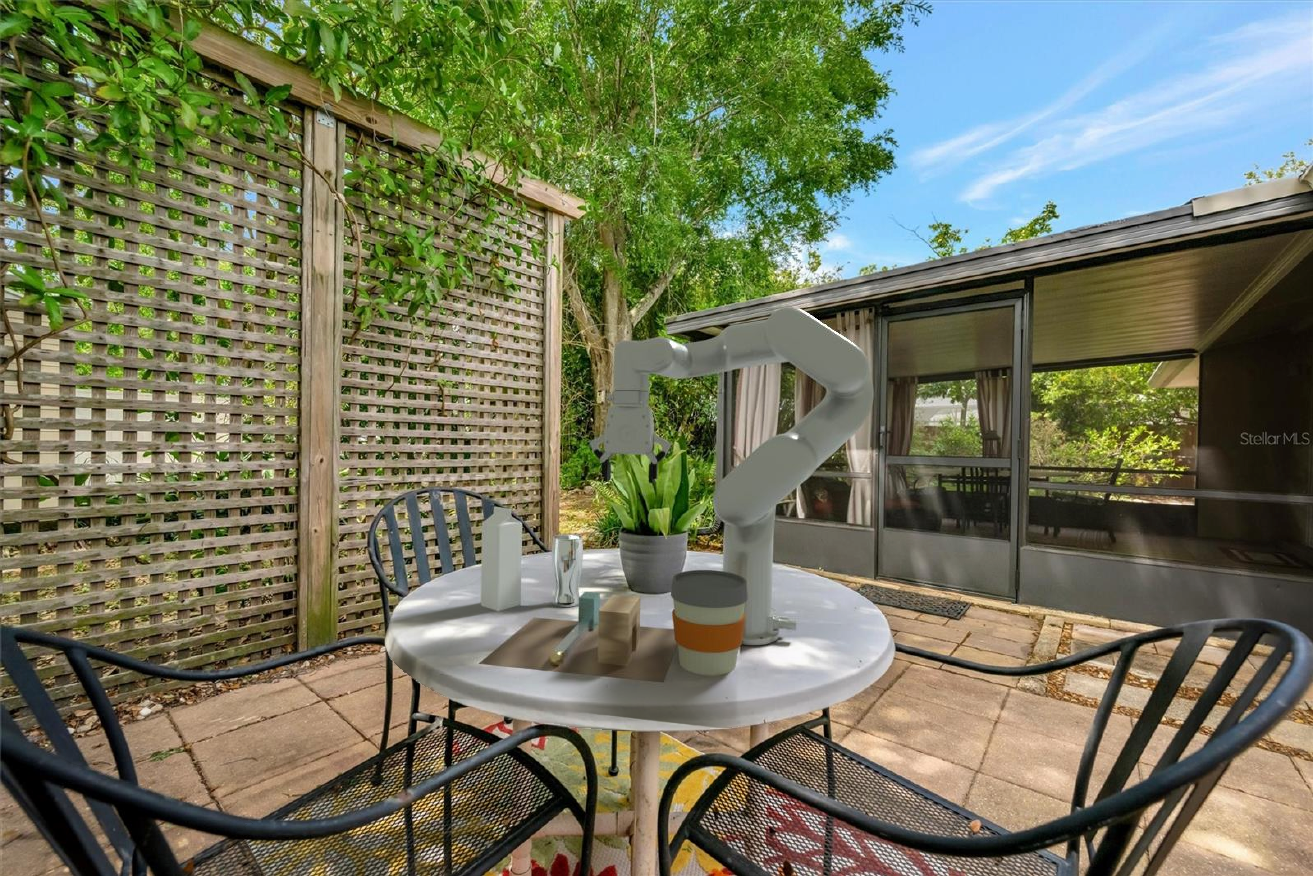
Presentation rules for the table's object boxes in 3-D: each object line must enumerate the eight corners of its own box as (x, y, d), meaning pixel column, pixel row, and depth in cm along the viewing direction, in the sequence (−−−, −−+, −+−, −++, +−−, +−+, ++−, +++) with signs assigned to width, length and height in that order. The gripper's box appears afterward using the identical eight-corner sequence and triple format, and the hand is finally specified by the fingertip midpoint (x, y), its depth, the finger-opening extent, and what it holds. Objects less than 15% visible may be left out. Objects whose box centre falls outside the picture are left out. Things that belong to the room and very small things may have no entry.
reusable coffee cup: (683, 692, 83) (685, 592, 82) (659, 658, 95) (661, 571, 95) (759, 683, 86) (761, 587, 86) (727, 651, 98) (729, 567, 98)
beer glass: (579, 608, 120) (580, 540, 120) (547, 607, 121) (548, 539, 120) (584, 598, 127) (585, 534, 127) (554, 598, 127) (555, 533, 127)
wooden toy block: (639, 644, 98) (640, 596, 98) (627, 665, 89) (628, 613, 88) (612, 642, 98) (613, 594, 98) (597, 663, 89) (598, 610, 89)
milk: (497, 617, 114) (499, 511, 114) (480, 610, 118) (481, 507, 117) (521, 609, 119) (522, 508, 118) (503, 604, 122) (505, 505, 122)
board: (682, 636, 105) (682, 629, 105) (663, 690, 83) (663, 682, 83) (533, 623, 110) (533, 617, 110) (478, 671, 88) (478, 663, 88)
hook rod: (562, 668, 87) (563, 630, 87) (544, 666, 88) (545, 629, 87) (599, 623, 108) (599, 593, 108) (584, 622, 108) (585, 591, 108)
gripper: (585, 399, 114) (584, 481, 114) (668, 400, 111) (667, 485, 111) (596, 401, 121) (594, 479, 121) (674, 402, 118) (672, 481, 118)
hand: (629, 481), depth 116 cm, fingers open, 9 cm apart
